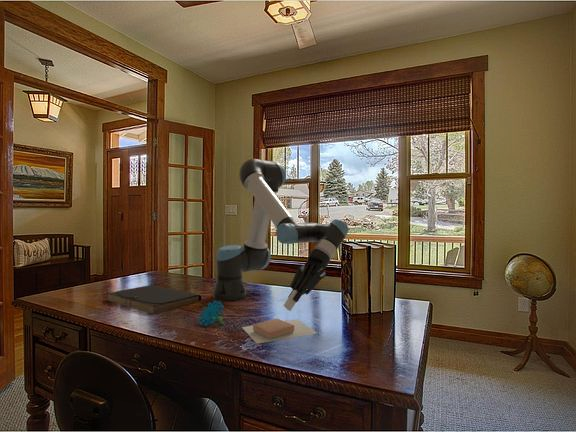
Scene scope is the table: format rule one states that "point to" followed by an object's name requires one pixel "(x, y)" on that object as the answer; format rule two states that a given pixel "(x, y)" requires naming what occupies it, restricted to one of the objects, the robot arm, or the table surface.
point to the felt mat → (299, 330)
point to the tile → (273, 328)
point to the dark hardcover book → (153, 298)
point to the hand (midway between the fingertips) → (287, 308)
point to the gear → (211, 314)
